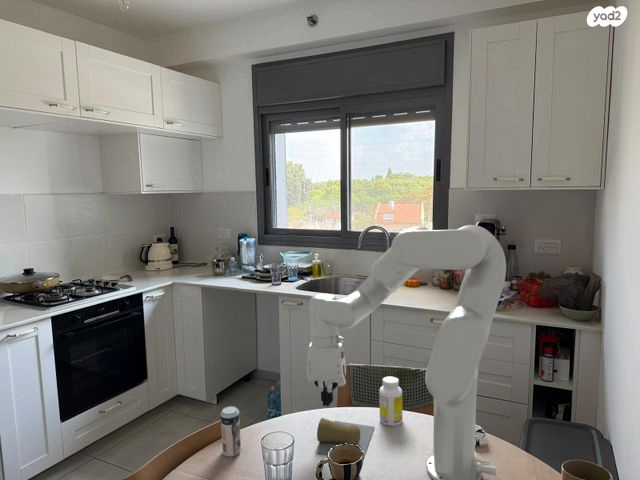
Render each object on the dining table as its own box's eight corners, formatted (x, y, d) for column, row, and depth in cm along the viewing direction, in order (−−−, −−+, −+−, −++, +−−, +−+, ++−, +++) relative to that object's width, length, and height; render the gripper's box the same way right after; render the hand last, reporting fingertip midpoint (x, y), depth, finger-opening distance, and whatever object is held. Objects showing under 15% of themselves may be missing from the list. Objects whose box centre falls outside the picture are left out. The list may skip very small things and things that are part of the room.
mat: (374, 427, 124) (374, 426, 124) (362, 461, 109) (362, 460, 109) (334, 421, 128) (334, 420, 127) (317, 453, 112) (317, 452, 112)
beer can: (239, 457, 111) (237, 413, 110) (221, 458, 111) (219, 415, 110) (242, 446, 116) (240, 404, 115) (224, 447, 116) (222, 405, 114)
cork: (320, 444, 119) (359, 451, 115) (315, 438, 114) (355, 445, 110) (325, 421, 122) (363, 428, 118) (320, 414, 118) (359, 421, 114)
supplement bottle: (402, 416, 130) (402, 375, 128) (402, 428, 123) (401, 385, 122) (380, 414, 131) (380, 373, 130) (378, 425, 125) (378, 383, 123)
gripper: (354, 337, 118) (356, 400, 120) (303, 333, 123) (306, 394, 125) (348, 346, 111) (350, 414, 113) (294, 342, 115) (297, 407, 117)
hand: (327, 403), depth 119 cm, fingers closed
